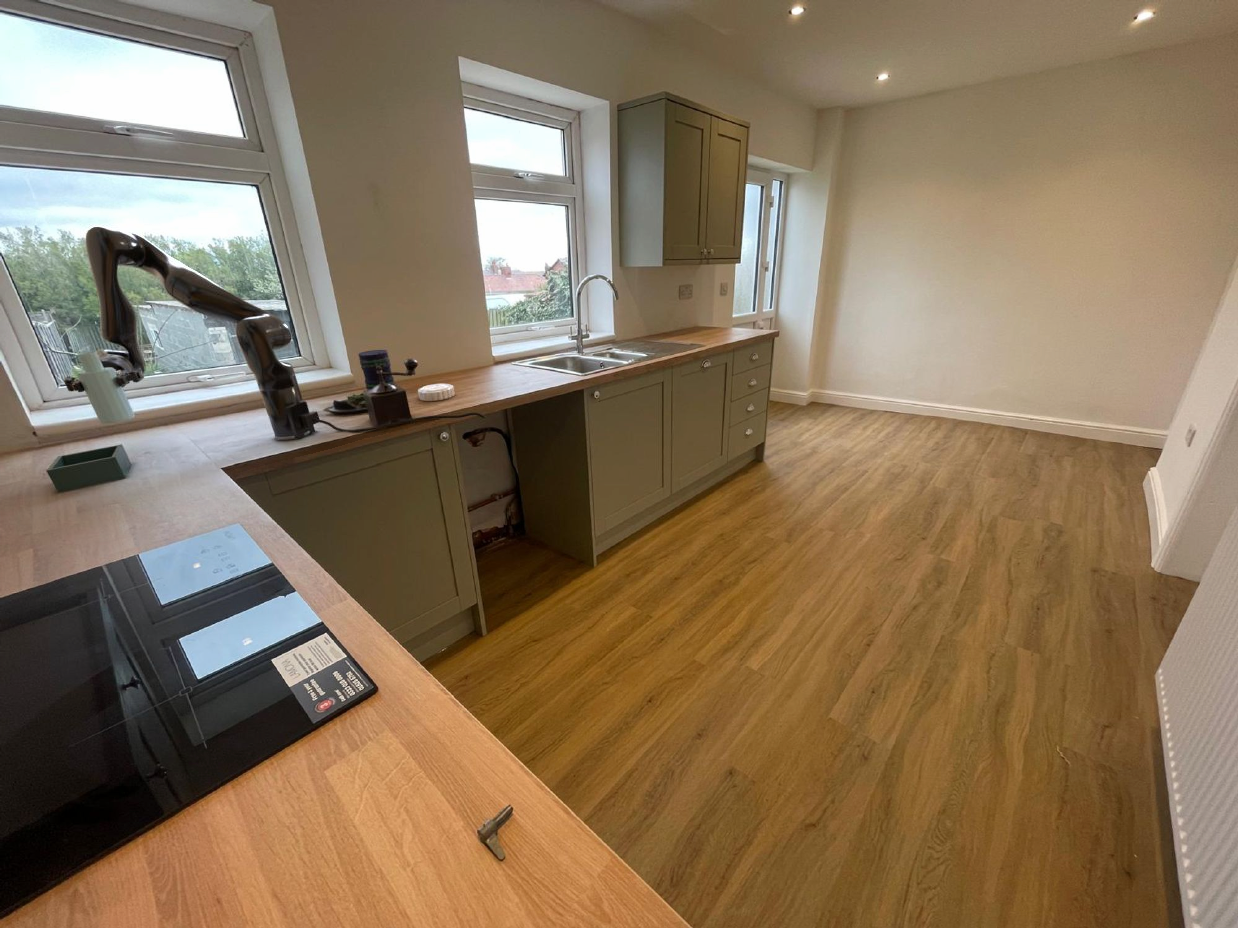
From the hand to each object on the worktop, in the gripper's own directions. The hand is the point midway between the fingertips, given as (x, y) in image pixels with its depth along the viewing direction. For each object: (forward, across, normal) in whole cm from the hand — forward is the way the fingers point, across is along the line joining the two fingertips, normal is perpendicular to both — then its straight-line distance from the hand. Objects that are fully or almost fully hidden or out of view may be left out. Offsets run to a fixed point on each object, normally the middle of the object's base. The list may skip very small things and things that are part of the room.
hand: (99, 384), depth 116 cm
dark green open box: (-2, -8, +22) cm, 23 cm away
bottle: (-2, 0, +9) cm, 9 cm away
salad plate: (-19, +54, +22) cm, 61 cm away
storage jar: (-35, +66, +22) cm, 78 cm away
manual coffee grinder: (+3, +62, +22) cm, 66 cm away
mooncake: (-14, +79, +22) cm, 83 cm away
